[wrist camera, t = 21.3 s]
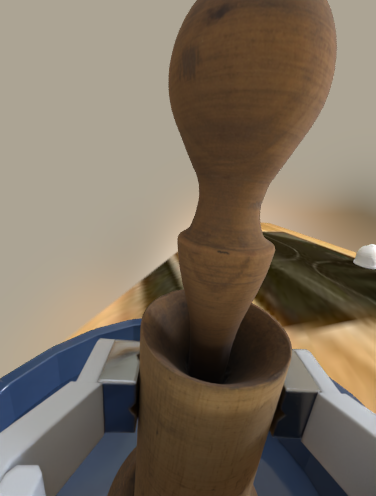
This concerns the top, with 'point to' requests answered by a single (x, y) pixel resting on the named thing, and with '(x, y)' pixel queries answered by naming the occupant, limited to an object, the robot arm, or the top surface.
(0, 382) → the bowl
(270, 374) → the mortar and pestle
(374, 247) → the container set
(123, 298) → the top surface
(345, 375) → the top surface
